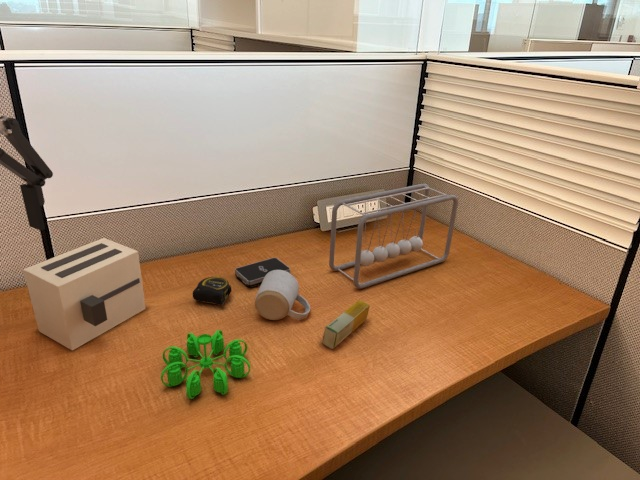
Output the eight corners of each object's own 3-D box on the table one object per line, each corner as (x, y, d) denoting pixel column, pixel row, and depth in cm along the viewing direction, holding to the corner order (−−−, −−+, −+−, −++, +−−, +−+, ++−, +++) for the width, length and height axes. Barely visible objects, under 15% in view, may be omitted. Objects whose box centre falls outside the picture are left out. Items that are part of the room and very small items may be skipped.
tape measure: (191, 304, 98) (190, 288, 97) (207, 288, 104) (206, 272, 103) (221, 310, 97) (221, 294, 95) (236, 293, 103) (235, 278, 101)
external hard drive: (234, 276, 109) (234, 268, 108) (275, 264, 115) (275, 256, 114) (249, 289, 104) (248, 281, 103) (291, 276, 110) (291, 268, 109)
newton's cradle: (354, 292, 105) (361, 217, 98) (327, 271, 113) (331, 201, 105) (448, 260, 121) (460, 194, 113) (419, 244, 129) (428, 181, 121)
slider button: (83, 320, 83) (79, 300, 82) (95, 313, 85) (92, 294, 83) (95, 326, 82) (91, 306, 80) (107, 319, 84) (104, 300, 82)
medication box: (333, 350, 87) (336, 333, 85) (321, 343, 88) (323, 326, 86) (367, 319, 95) (370, 303, 93) (355, 313, 97) (358, 297, 95)
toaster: (38, 331, 88) (22, 268, 82) (113, 293, 100) (103, 236, 95) (72, 351, 83) (58, 286, 78) (146, 309, 96) (138, 250, 90)
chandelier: (180, 419, 70) (176, 383, 68) (147, 363, 81) (142, 329, 78) (268, 381, 79) (268, 347, 76) (227, 334, 90) (226, 303, 87)
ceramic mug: (252, 320, 94) (252, 286, 90) (263, 298, 101) (263, 266, 98) (305, 327, 93) (307, 294, 89) (312, 305, 100) (314, 272, 97)
